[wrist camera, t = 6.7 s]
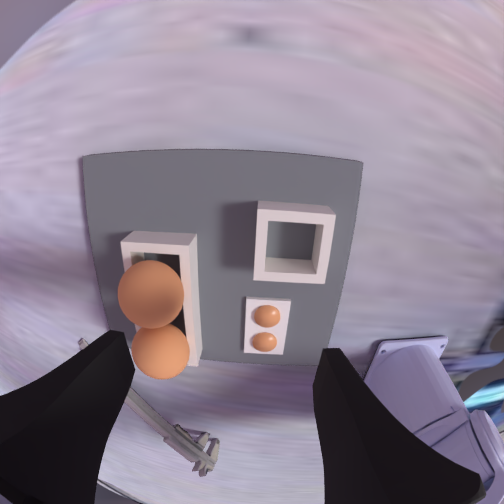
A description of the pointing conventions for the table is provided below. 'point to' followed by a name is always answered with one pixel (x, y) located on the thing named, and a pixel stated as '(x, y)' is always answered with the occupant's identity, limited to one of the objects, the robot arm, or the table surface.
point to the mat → (225, 236)
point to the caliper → (175, 433)
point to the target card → (266, 325)
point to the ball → (150, 294)
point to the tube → (294, 268)
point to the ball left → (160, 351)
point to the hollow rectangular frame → (187, 252)
